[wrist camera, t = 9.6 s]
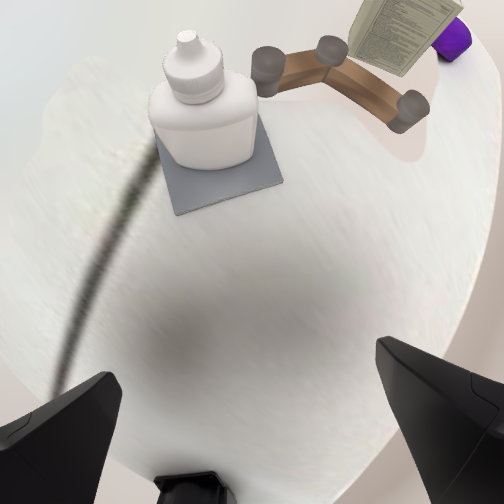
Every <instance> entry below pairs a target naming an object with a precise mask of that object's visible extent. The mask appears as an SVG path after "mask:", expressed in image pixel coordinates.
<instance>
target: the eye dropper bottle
mask: <svg viewBox="0 0 504 504" xmlns="http://www.w3.org/2000/svg"><path fill="white" fill-rule="evenodd" d="M222 56H223V55H222V51H221V49H220V48H219V47H218V46H217V45H216V44H215V43H213V42H211V41H208V40H204V39H199V38H198V36H197V34H196V32H194V31H193V30H185V31H182V32H181V33H180V34H179V35H178V36H177V45H176V46H174V47H173V48H172V49H170V50H169V51H168V52H167V54H166V56H165V57H164V60H163V70H164V72H165V75H166V78H167V79H166V80H165V81H163V82H161V83H160V84H158V85H157V86H156V87H155V88H154V89H153V90H152V91H151V93H150V95H149V102H148V117H149V120H150V123H151V125H152V127H153V128H154V130H155V132H156V133H157V135H158V136H159V138H160V139H161V141H162V142H163V144H164V145H165V147H166V148H167V150H168V151H169V153H170V154H171V156H172V157H173V159H174V160H175V161H176V163H178V164H179V165H181V166H183V167H187V168H191V169H196V170H220V169H225V168H229V167H233V166H236V165H238V164H241V163H243V162H245V161H247V160H249V159H250V158H251V157H252V155H253V151H254V142H255V134H256V125H257V115H258V98H257V89H256V85H255V83H254V81H253V80H252V79H251V78H249V77H248V76H246V75H243V74H241V73H237V72H234V71H231V70H226V69H224V67H223V57H222Z"/></svg>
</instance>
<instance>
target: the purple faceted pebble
mask: <svg viewBox="0 0 504 504" xmlns="http://www.w3.org/2000/svg"><path fill="white" fill-rule="evenodd" d="M471 44H472V38H471V33H470V31H469V29H468V28H467V27H466V25H465V24H464V23H463V22H462V21H461V20H460V19H458V18H457V17H455V18H454V19H453V21H452V22H451V23H450V24H449V25H448V26H447V27H446V28H445V30H444V31H443V32H442V33H441V34H440V35H439V36H438V37H437V39H436V40H435V41H434V42H433V43H432V44H431V46H432V47H433V48H434V49H435V50H436V51H437V52H438V53H440V54H441V55H442V56H443V57H444V58H446V59H447V60H448V61H451V62H452V61H453V60H455V59H456V58H457V57H458V56H459V55H461V54H462V53H463V52H464V51H466V50H467V49H468V48H469V47H470V46H471Z"/></svg>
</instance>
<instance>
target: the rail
mask: <svg viewBox="0 0 504 504" xmlns="http://www.w3.org/2000/svg"><path fill="white" fill-rule="evenodd" d="M348 52H349V48H348V45H347V44H346V43H345V42H344V41H343V40H341V39H340V38H338V37H335V36H323V37H321V38H320V40H319V43H318V46H317V48H316V49H314V50H309V51H303V52H297V53H293V54H287V55H285V54H284V53H283V52H282V51H281V50H279V49H278V48H275V47H271V46H264V47H260V48H258V49H256V50H255V51H254V52H253V55H252V67H251V79H252V80H253V81H254V83H255V85H256V89H257V96H260V97H264V98H268V97H272V96H274V95H276V94H277V93H279V92H283V91H286V90H290V89H294V88H298V87H302V86H306V85H310V84H314V83H319V82H323V83H325V84H327V85H329V86H330V87H332V88H334V89H335V90H337V91H339V92H340V93H342V94H343V95H345V96H346V97H348V98H349V99H351V100H352V101H354V102H356V103H357V104H358V105H360V106H362V107H363V108H364V109H366V110H367V111H369V112H370V113H371V114H373V115H374V116H376V117H377V118H378V119H380V120H381V121H382V122H384V123H385V124H386V125H387V126H388V128H389V129H390V130H392V131H393V132H395V133H398V134H402V133H404V132H405V131H407V130H408V129H409V128H411V127H412V126H413V125H414V124H416V123H417V122H418V121H420V120H421V119H422V118H424V117H425V116H426V115H428V114H429V112H430V106H429V103H428V101H427V100H426V98H425V97H424V96H423V95H422V94H421V93H419V92H418V91H415V90H409V91H407V92H406V93H405V94H404V95H401V94H400V93H399V92H397V91H396V90H395V89H393V88H392V87H390V86H389V85H388V84H386V83H385V82H384V81H382V80H381V79H379V78H378V77H376V76H375V75H373V74H372V73H370V72H369V71H367V70H366V69H364V68H363V67H361V66H360V65H358V64H356V63H355V62H353V61H352V60H350V59H348V58H347V57H346V56H347V54H348Z"/></svg>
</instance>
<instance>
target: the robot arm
mask: <svg viewBox="0 0 504 504" xmlns="http://www.w3.org/2000/svg"><path fill="white" fill-rule="evenodd" d="M375 360H376V366H377V369H378V372H379V375H380V378H381V381H382V384H383V387H384V390H385V393H386V396H387V399H388V402H389V405H390V407H391V409H392V411H393V414H394V416H395V418H396V420H397V422H398V424H399V427H400V429H401V431H402V433H403V436H404V438H405V440H406V442H407V445H408V447H409V449H410V452H411V454H412V456H413V459H414V461H415V463H416V466H417V468H418V471H419V473H420V476H421V478H422V481H423V483H424V486H425V488H426V491H427V493H428V496H429V499H430V501H431V504H504V384H502V383H499V382H496V381H493V380H491V379H488V378H486V377H483V376H480V375H478V374H476V373H473V372H471V373H470V371H468V370H466V369H464V368H461V367H459V366H456V365H454V364H452V363H450V362H447V361H445V360H443V359H441V358H438V357H436V356H434V355H431V354H429V353H427V352H425V351H422V350H420V349H418V348H416V347H413V346H411V345H409V344H407V343H404V342H402V341H400V340H398V339H395V338H393V337H391V336H385V337H382V338H378V339H377V341H376V358H375ZM121 398H122V389H121V387H120V385H119V383H118V381H117V379H116V377H115V376H114V374H113V373H112V372H105V371H103V372H100V373H98V374H97V375H95V376H93V377H92V378H90V379H88V380H86V381H85V382H83V383H81V384H80V385H78V386H76V387H74V388H73V389H71V390H69V391H67V392H66V393H64V394H62V395H60V396H59V397H57V398H55V399H53V400H52V401H50V402H48V403H46V404H45V405H43V406H41V407H39V408H38V409H36V410H34V411H33V412H30V413H28V414H27V415H25V416H23V417H21V418H19V419H17V420H15V421H13V422H11V423H9V424H7V425H4V426H2V427H0V504H94V500H95V496H96V492H97V488H98V484H99V480H100V477H101V473H102V470H103V466H104V463H105V459H106V456H107V452H108V449H109V446H110V443H111V439H112V436H113V433H114V430H115V426H116V421H117V417H118V412H119V407H120V403H121ZM211 476H213V477H211ZM159 481H160V482H159ZM154 483H155V485H156V486H157V487H158V489H159V490H160V491H161V492H160V495H159V498H158V501H157V504H236V499H235V498H234V496H233V495H232V493H231V492H230V490H229V489H228V487H226V486H224V485H223V483H222V482H221V480H220V478H219V477H218V475H217V474H216V473H215V472H204V473H196V474H188V475H177V476H164V477H155V478H154Z"/></svg>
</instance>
